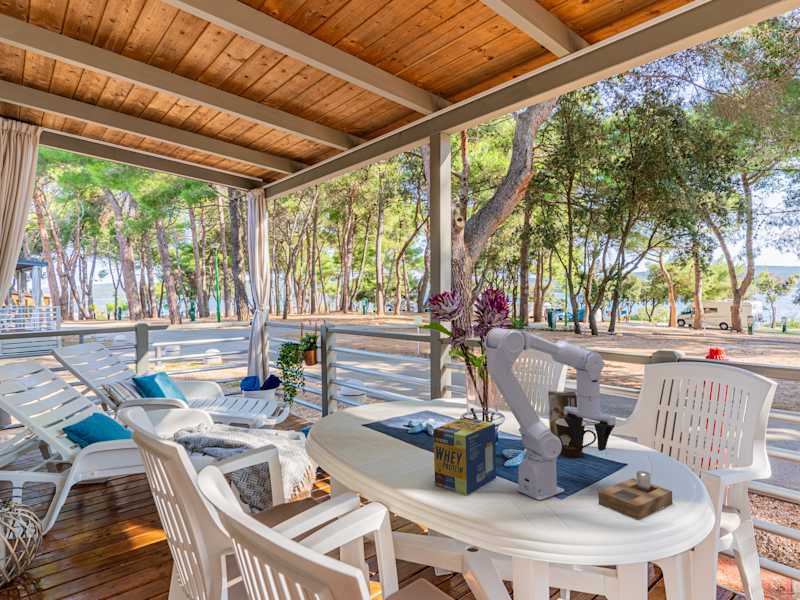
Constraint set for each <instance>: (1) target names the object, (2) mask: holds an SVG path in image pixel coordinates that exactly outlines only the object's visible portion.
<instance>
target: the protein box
mask: <svg viewBox="0 0 800 600" xmlns="http://www.w3.org/2000/svg"><path fill="white" fill-rule="evenodd" d="M496 445H497V444H496V423H495V422H489V421H485V420H480V419H475V418H470V417H462V418H459V419H457V420H454V421H451V422H447V423H446V424H444V425H441V426H439V427H438V426H437V427H435V428H433V456H434V457H433V461H434V462H433V463H434V464H433V465H434V467H433V468H434V469H433V470H434V486H435V485H436V486H435V487H439V488H442V489H445V490H449V491H451V492H454V493H458V494H460V495H464V496H468V495H470V494H471V493H474V492H475V491H476V490H478V489H480V488H481V487H484V486H485V485H486V484H489V483H490V482H492V481H493V480H495V479H496V478H497V453H496V452H497V451H496Z"/></svg>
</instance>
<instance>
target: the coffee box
mask: <svg viewBox="0 0 800 600" xmlns="http://www.w3.org/2000/svg"><path fill="white" fill-rule="evenodd" d="M547 393H548V395H547V398H548V422H549V424H548V426H549V427H548V428H549V429H550V431H551V432H552V434H554V435H555V436H557V437H558V434H557V427H556V421H557V420H561V419H564V418H565V417H567V415H566V414H564V407H567V406H570V407H576V408H577V393H575V392H574V391H554V390H553V391H547Z"/></svg>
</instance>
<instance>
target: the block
mask: <svg viewBox="0 0 800 600" xmlns="http://www.w3.org/2000/svg"><path fill="white" fill-rule="evenodd" d="M597 494H598V505H600V506H602V507H603V506H604V507H606V508H608V509H611V510H613V511H615V512H618V513H620V514H623V515H626V516H628V517H631V518H632V519H634V520H635V519H636V520H640V519H642V518H645V517H647V516H649V515H651V514H654V513H655V511H656V512H657V510H658V511H659V509H660V510H662V509H664V508H666V507H668V506H670V505H669V504H671V503H672V504H673V491H672V490H669V489H667V488H663V487H661V486H658V485H655V484H652V483H651V492H649V493H645V492H642V491H639V490H637V478H633V477H632V478H630V479H627V480H623V481H622V482H619V483H616V484H614V485H611V486H609V487H605V488H603V489H601V490H599V491H598V493H597ZM672 504H671V505H672ZM667 505H668V506H667ZM665 506H666V507H665ZM663 507H664V508H663ZM661 508H662V509H661ZM653 512H654V513H653ZM644 516H645V517H644Z"/></svg>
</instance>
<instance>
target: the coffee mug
mask: <svg viewBox="0 0 800 600" xmlns="http://www.w3.org/2000/svg"><path fill="white" fill-rule="evenodd" d="M585 426H586V423H585V422H584V421H582V427H581V442H579V443H574V441H573V437H572V434H571V431H570V429H569V426H568V424H567V423H566V421H565V419H561V420H557V421H556V427H557V434H558V438H559V439H560V441H561V444H562V449H561V452H560V454H559V455H561V456H562V457H564V458H567V459H568V458H569V459H570V458H571V459H577V458H581V457H582V455H583V449H584V448H587V447H589V446H591V445H593V444H594V443H595V442H596V440H597V433H596V432H594V431H593V430H590V429H585ZM586 433H591V434H592V435H593V440H592V441H591V442H590V443H589V442H588V443H587V444H584V437H585V434H586Z"/></svg>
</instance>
